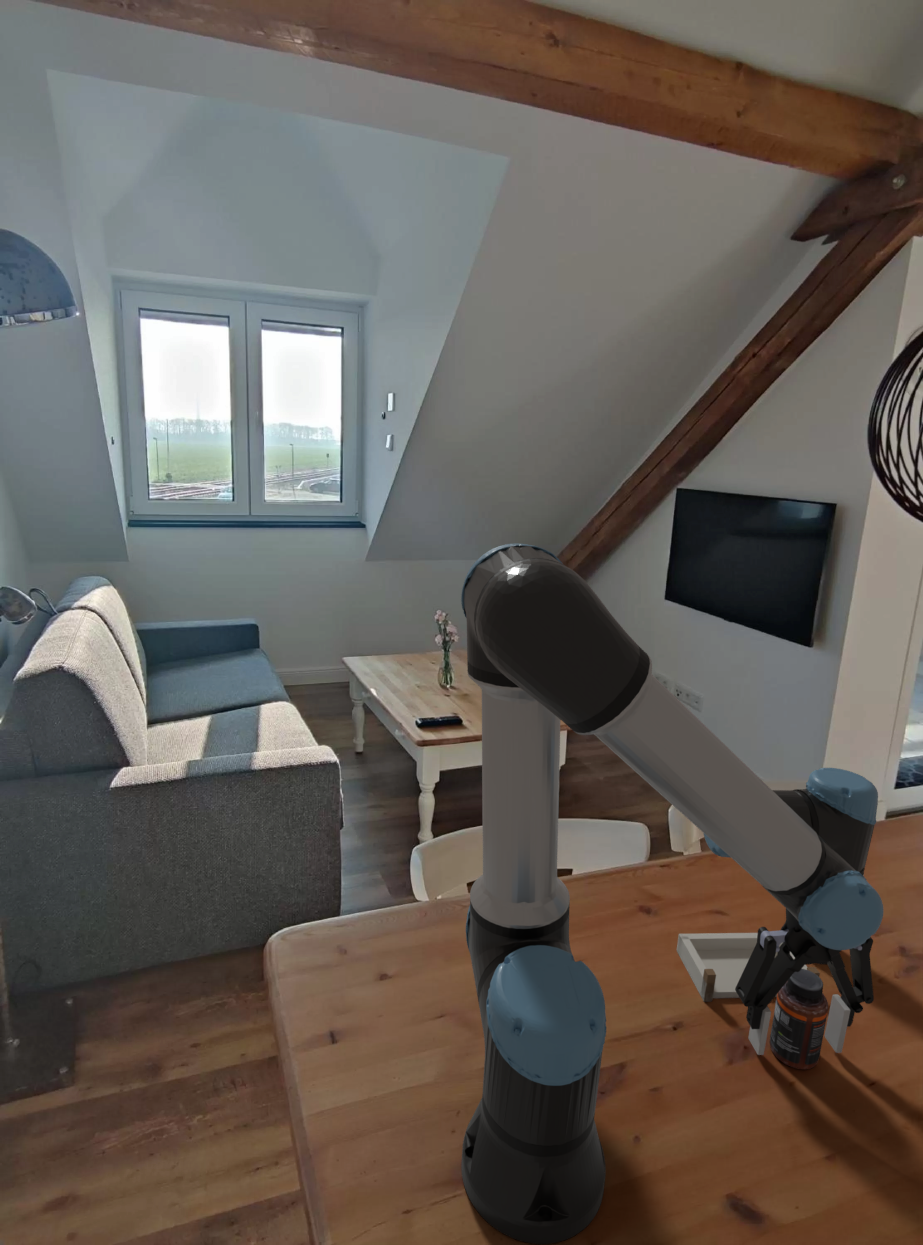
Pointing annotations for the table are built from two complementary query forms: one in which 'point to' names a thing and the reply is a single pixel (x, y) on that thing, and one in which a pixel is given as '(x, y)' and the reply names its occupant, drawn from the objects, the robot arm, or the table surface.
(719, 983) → the bay
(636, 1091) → the table surface
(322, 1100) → the table surface
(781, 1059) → the supplement bottle
